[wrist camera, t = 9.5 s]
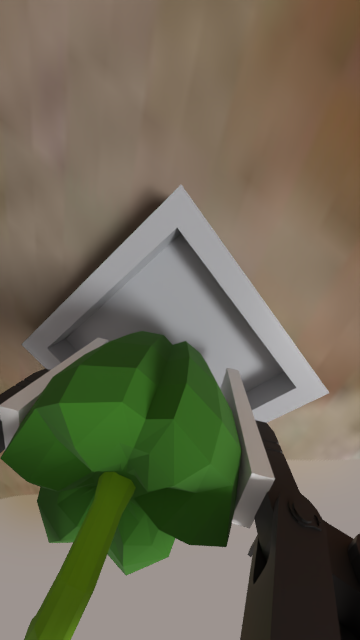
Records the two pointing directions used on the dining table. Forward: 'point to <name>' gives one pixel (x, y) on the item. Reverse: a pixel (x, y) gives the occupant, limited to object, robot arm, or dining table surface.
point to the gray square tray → (184, 309)
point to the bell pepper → (126, 464)
